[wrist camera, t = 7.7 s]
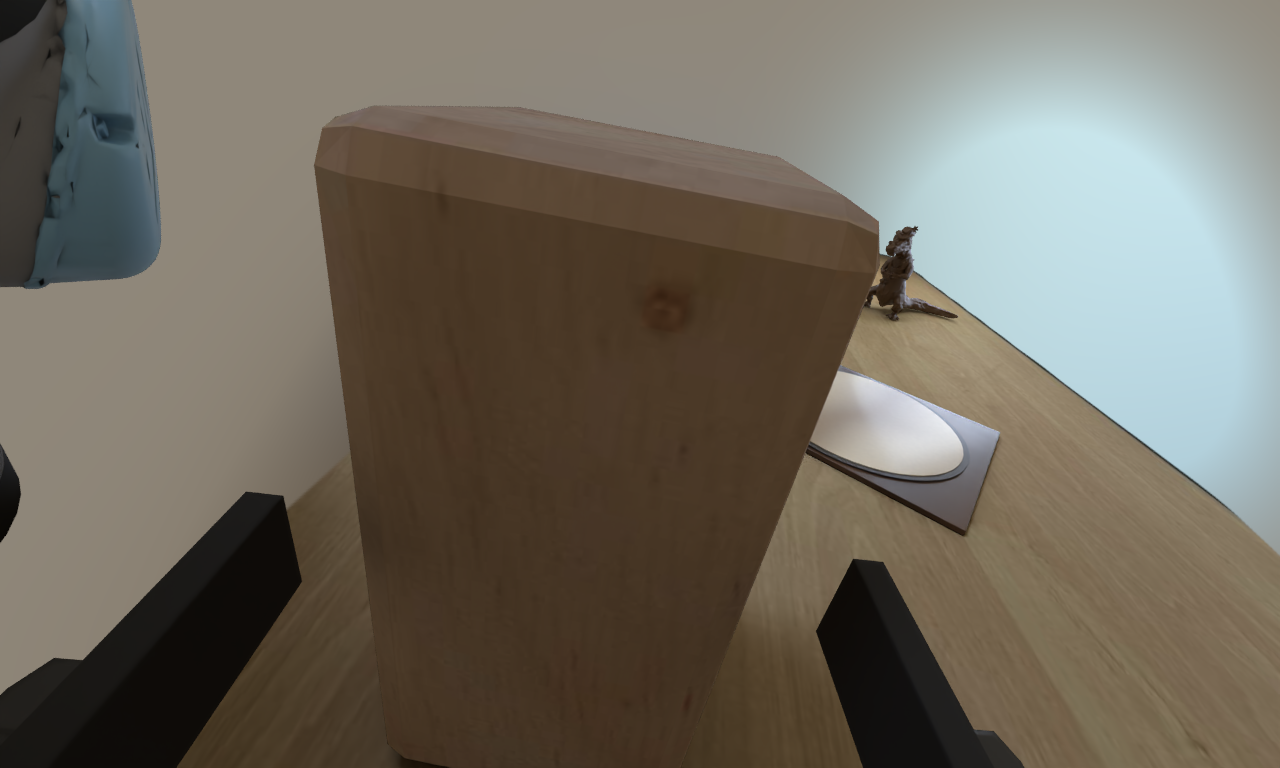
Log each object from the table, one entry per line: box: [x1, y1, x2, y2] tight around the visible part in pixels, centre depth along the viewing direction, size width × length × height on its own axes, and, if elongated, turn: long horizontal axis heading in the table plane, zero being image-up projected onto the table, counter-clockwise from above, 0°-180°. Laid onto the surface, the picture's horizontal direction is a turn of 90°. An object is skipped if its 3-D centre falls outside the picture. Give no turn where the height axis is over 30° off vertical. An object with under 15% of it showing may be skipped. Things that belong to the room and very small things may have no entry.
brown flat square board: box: [806, 365, 1000, 535], centre depth 45 cm, size 20×18×1 cm
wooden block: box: [314, 106, 880, 768], centre depth 17 cm, size 10×10×20 cm
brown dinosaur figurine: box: [864, 227, 958, 320], centre depth 72 cm, size 15×10×12 cm, turn 76°
